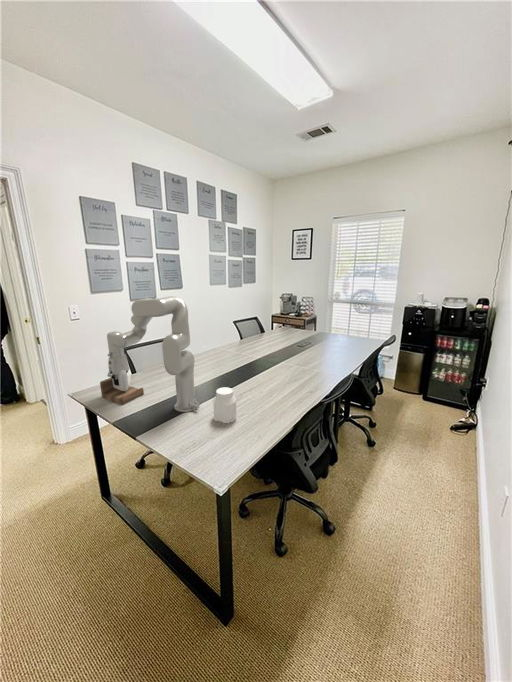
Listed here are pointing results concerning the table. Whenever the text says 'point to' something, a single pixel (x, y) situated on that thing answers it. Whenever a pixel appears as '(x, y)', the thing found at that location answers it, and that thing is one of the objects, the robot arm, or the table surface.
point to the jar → (224, 405)
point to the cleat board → (119, 392)
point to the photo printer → (122, 381)
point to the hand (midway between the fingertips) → (120, 383)
